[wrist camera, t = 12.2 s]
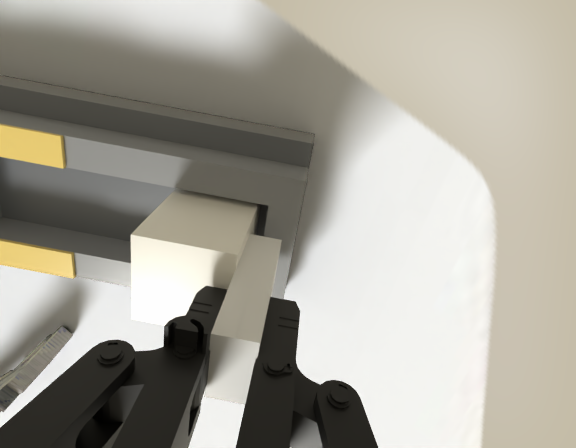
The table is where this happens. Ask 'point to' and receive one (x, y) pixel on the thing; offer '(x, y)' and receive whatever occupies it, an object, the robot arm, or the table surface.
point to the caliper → (31, 367)
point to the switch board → (129, 176)
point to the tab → (186, 251)
